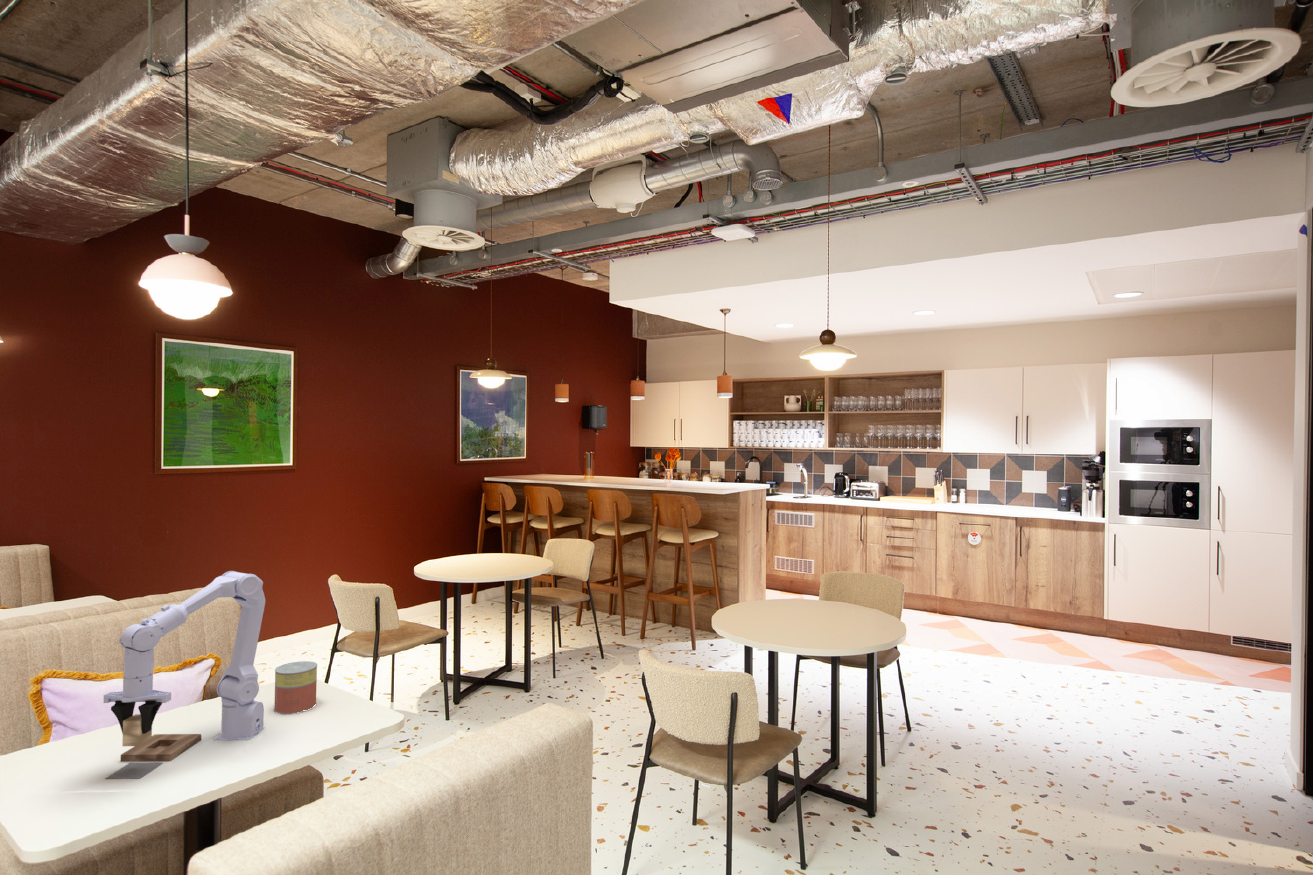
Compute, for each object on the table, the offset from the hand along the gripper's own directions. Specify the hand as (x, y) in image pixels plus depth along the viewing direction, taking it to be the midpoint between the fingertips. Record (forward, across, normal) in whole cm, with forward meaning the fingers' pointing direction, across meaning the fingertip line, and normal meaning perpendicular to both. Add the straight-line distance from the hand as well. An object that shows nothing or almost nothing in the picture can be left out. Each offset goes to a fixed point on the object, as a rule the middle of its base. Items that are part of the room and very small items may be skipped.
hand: (136, 731), depth 162 cm
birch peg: (+3, 0, 0) cm, 3 cm away
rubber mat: (+10, 0, 0) cm, 10 cm away
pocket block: (+10, -1, +11) cm, 14 cm away
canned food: (+10, +18, +41) cm, 46 cm away
